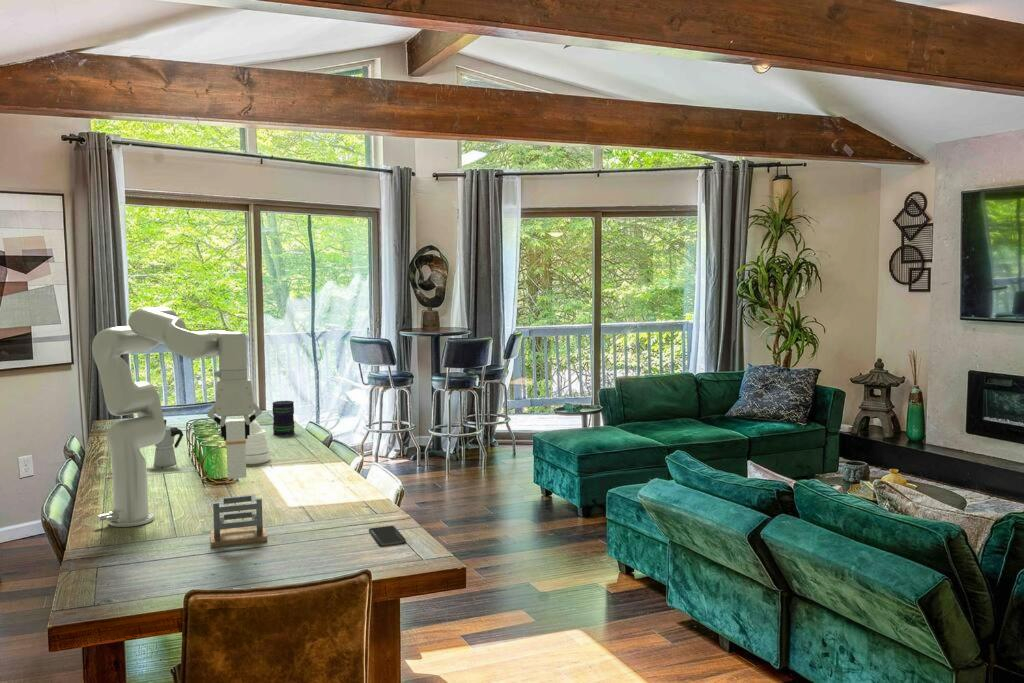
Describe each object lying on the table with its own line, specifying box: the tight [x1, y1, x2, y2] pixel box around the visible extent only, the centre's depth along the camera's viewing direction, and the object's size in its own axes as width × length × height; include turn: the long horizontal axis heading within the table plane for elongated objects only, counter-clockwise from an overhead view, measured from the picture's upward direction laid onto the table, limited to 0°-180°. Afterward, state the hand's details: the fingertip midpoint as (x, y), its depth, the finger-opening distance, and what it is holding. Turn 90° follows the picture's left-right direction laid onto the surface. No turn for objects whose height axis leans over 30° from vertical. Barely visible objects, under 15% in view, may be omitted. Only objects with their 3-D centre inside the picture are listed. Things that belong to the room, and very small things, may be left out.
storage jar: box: [272, 400, 296, 437], centre depth 385 cm, size 10×10×15 cm
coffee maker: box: [153, 419, 184, 468], centre depth 324 cm, size 15×9×18 cm, turn 76°
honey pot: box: [245, 417, 271, 465], centre depth 331 cm, size 13×13×18 cm
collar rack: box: [210, 494, 268, 548], centre depth 234 cm, size 15×11×11 cm
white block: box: [225, 418, 247, 480], centre depth 232 cm, size 5×5×16 cm
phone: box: [368, 525, 407, 548], centre depth 235 cm, size 8×1×15 cm
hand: (235, 438), depth 232 cm, fingers closed on white block, 5 cm apart
